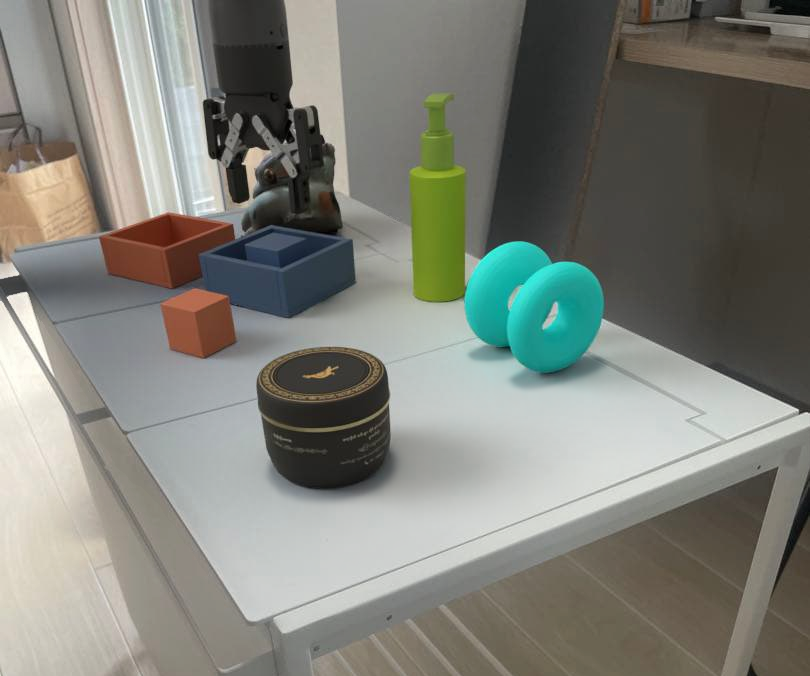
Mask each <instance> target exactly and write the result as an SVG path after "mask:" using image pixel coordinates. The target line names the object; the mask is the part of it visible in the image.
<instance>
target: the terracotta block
mask: <svg viewBox="0 0 810 676" xmlns="http://www.w3.org/2000/svg"><path fill="white" fill-rule="evenodd" d="M160 309H161V314H162V318H163V322H164V327H165V333H166V336H167V337H166V338H167V341H168V346H169V349H170V350H173V351H177V352H181V353H184V354H188V355H191V356H195V357H198V358H201V359H205V358H207V357H209V356H210V355H213V354H214V353H217V352H218V351H220V350H222V349H224V348H226V347H228V346H230V345H232V344H234V343H236V342H237V336H236V330H235V325H234V318H233V313H232V312H233V311H232V305H231V304H230V300H229V296H226V295H222V294H218V293H213V292H209V291H205V289H200V288H196V287H195V288H192V289H190V290H188V291H185V292H183V293H181V294H179V295H176V296H174V297H172V298H170V299H167V300H165V301H162V302H161V303H160Z"/></svg>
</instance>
